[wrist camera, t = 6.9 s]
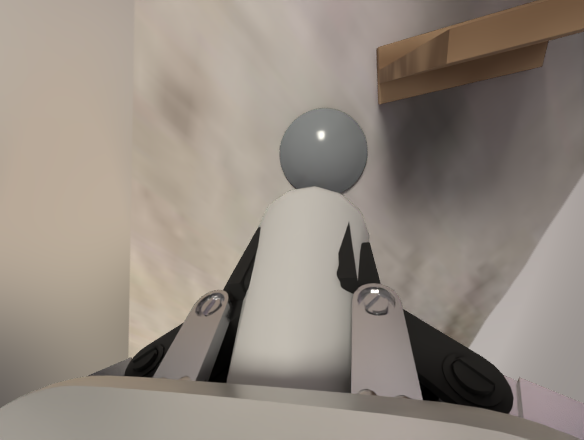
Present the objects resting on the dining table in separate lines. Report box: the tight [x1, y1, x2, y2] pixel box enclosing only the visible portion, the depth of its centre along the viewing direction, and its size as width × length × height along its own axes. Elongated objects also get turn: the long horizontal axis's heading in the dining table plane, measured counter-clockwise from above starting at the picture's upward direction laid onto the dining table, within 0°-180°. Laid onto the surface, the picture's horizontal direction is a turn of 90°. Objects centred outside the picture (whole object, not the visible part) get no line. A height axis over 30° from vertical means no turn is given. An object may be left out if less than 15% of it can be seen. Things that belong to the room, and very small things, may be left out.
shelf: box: [377, 0, 584, 104], centre depth 14 cm, size 5×14×16 cm, turn 103°
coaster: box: [280, 108, 367, 193], centre depth 27 cm, size 11×11×1 cm
